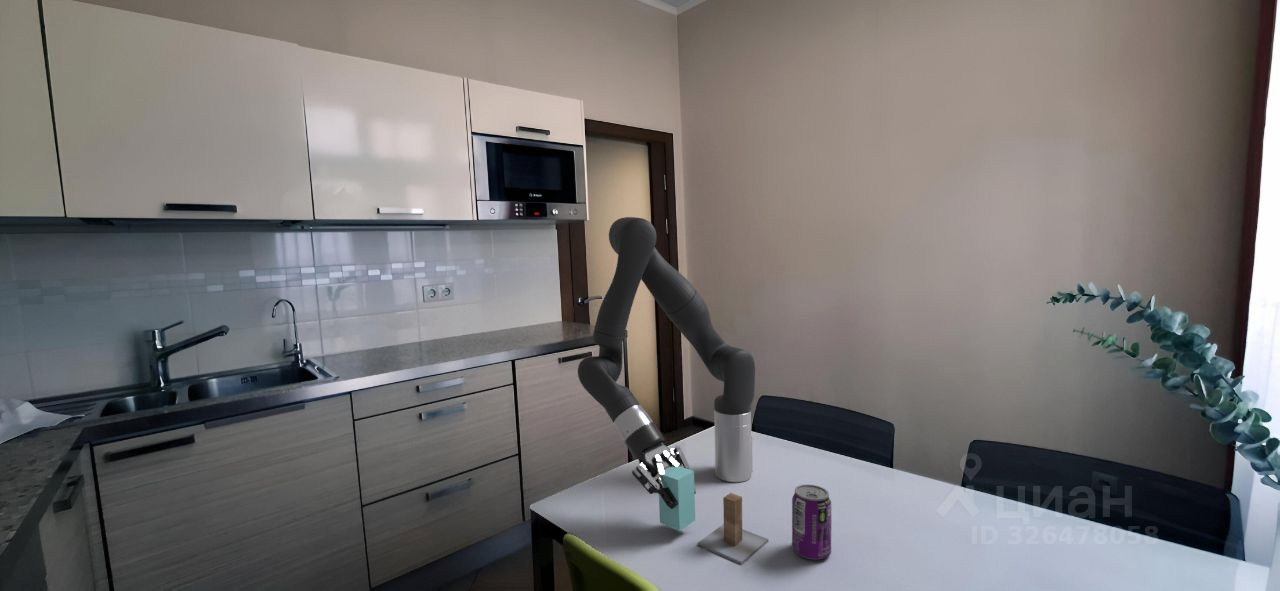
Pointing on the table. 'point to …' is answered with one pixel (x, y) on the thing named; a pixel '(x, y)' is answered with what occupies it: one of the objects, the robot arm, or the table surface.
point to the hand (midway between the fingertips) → (683, 500)
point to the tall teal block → (678, 498)
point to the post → (733, 534)
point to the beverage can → (811, 522)
